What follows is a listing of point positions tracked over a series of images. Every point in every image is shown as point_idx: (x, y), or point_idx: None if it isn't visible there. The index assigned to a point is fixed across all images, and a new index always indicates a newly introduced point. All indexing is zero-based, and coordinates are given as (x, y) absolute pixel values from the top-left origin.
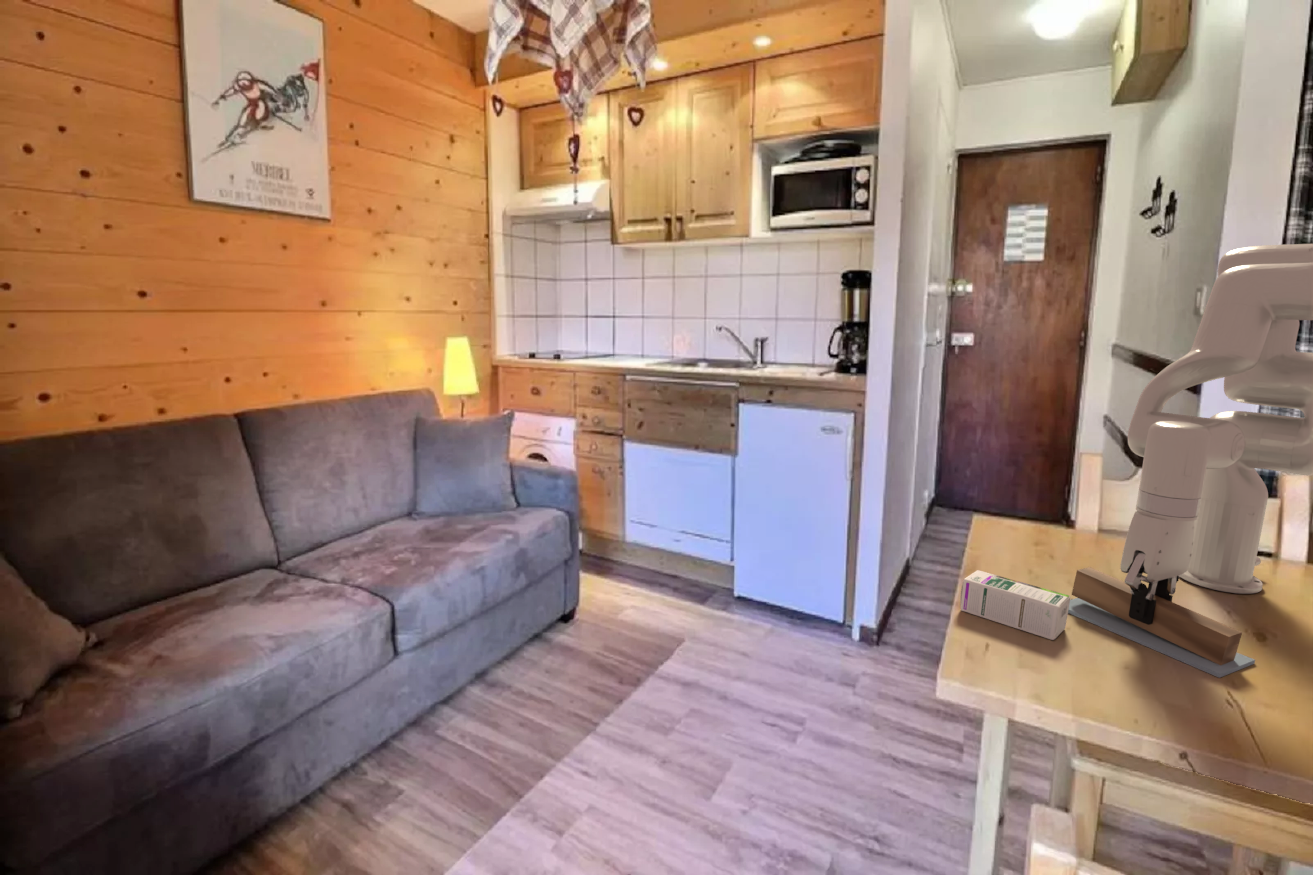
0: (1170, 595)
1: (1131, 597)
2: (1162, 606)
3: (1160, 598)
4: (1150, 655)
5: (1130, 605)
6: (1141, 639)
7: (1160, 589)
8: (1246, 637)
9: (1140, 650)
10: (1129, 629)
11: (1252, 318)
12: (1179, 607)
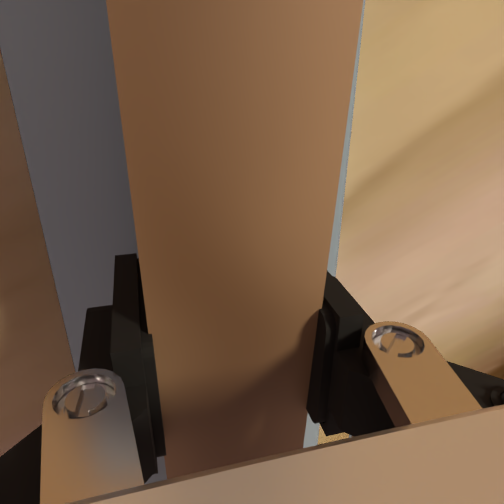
0: (337, 429)
1: (113, 324)
2: (183, 456)
3: (291, 386)
4: (14, 386)
5: (114, 290)
6: (75, 319)
7: (342, 402)
8: (483, 359)
9: (9, 350)
10: (119, 234)
11: None
12: None
